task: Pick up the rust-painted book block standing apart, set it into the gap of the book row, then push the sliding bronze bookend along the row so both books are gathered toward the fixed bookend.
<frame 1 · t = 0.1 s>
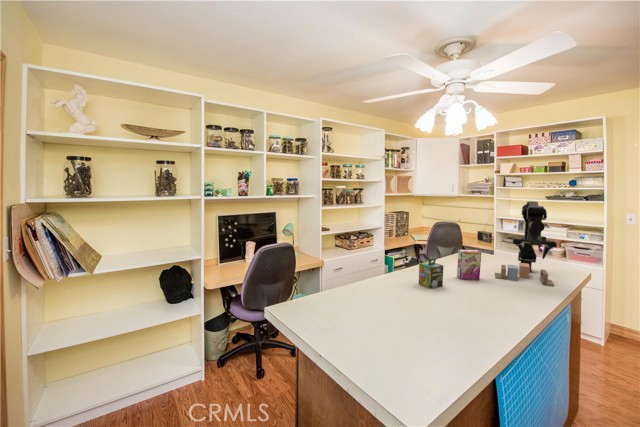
hand: (532, 258, 156), 15 cm above the table, fingers open, 9 cm apart
chalk box: (430, 285, 158), on the table
bookend slide: (547, 277, 159), point 3 cm above the table, slide at 0.0 cm
blue book: (512, 278, 168), on the table
candy bar box: (468, 278, 168), on the table
rust book: (523, 276, 171), on the table
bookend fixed: (503, 276, 170), on the table
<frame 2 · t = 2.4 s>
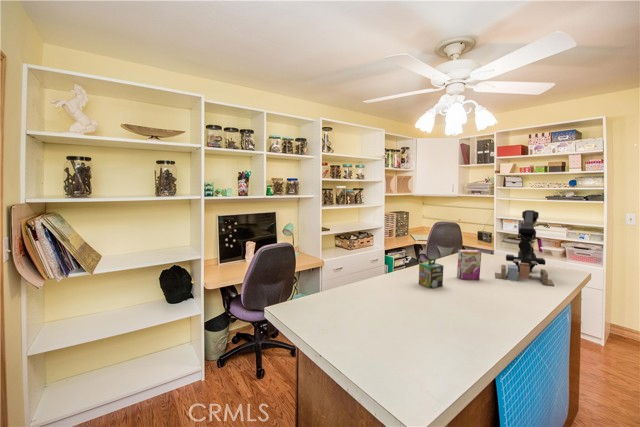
hand: (523, 273, 171), 2 cm above the table, fingers closed on rust book, 4 cm apart
rust book: (523, 276, 171), on the table, touching gripper
everything else where it was.
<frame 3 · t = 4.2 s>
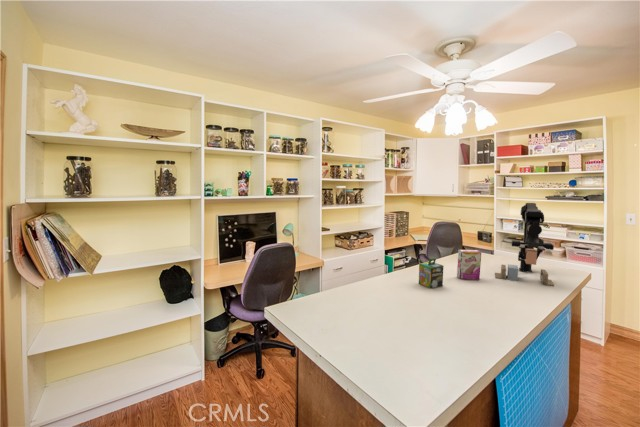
hand: (530, 259, 162), 12 cm above the table, fingers closed on rust book, 4 cm apart
rust book: (530, 262, 163), point 10 cm above the table, touching gripper
everything else where it was.
when the fingers open (3 cm above the table, at t = 6.3 s): rust book drops 1 cm, on the table.
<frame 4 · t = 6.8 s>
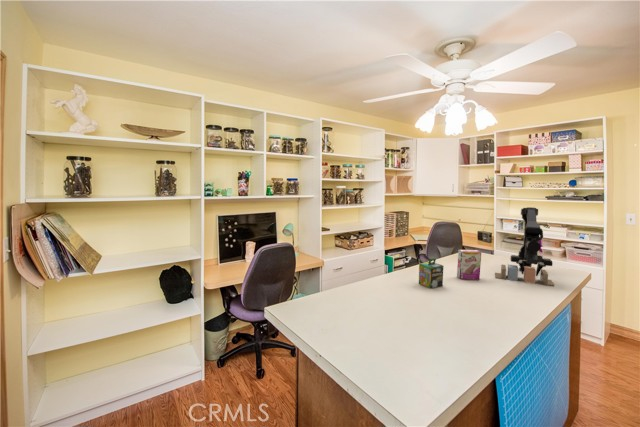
hand: (529, 275, 163), 3 cm above the table, fingers open, 6 cm apart
rust book: (529, 280, 164), on the table
everything else where it was.
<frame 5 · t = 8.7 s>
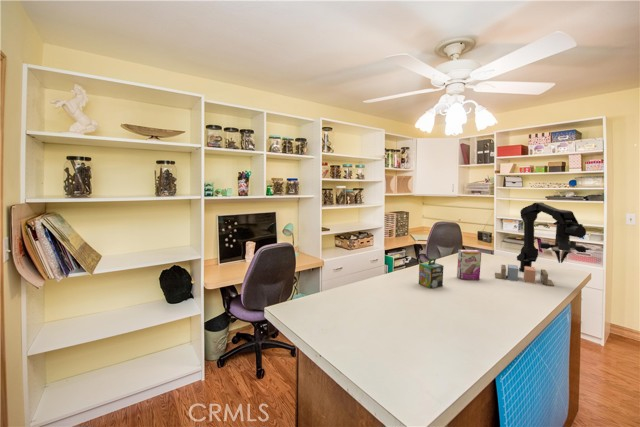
hand: (560, 262, 156), 12 cm above the table, fingers closed
nothing on the table moved.
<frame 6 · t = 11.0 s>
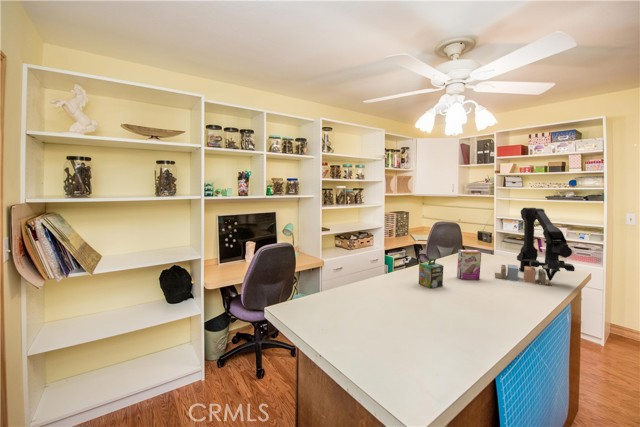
hand: (549, 280, 159), 1 cm above the table, fingers closed
bookend slide: (545, 277, 160), point 3 cm above the table, slide at 0.9 cm, touching gripper
everything else where it was.
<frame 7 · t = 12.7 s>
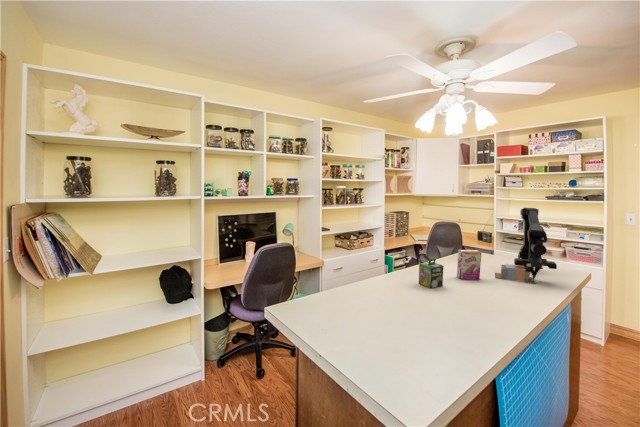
hand: (533, 278, 162), 1 cm above the table, fingers closed
bookend slide: (529, 275, 163), point 3 cm above the table, slide at 8.0 cm, touching gripper, rust book
blue book: (509, 277, 168), on the table, touching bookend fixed, rust book
rust book: (519, 279, 166), on the table, touching blue book, bookend slide
everything else where it was.
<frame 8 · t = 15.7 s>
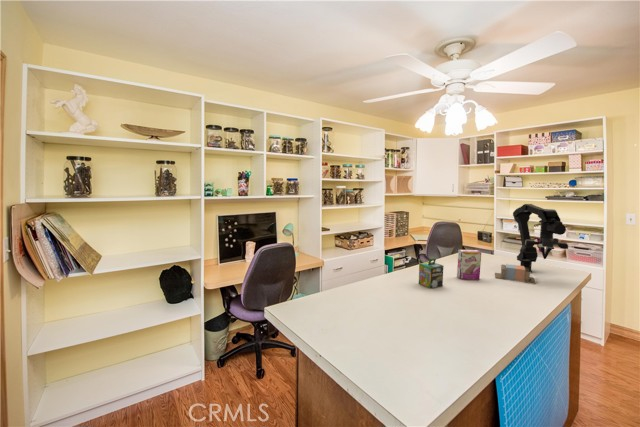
hand: (544, 258, 164), 12 cm above the table, fingers closed
bookend slide: (529, 275, 163), point 3 cm above the table, slide at 7.9 cm
blue book: (509, 277, 168), on the table
rust book: (519, 279, 166), on the table
everything else where it was.
at the end: bookend slide slide at 7.9 cm; rust book inside the target area (0.0 cm from its centre), on the table; rust book tilted 0° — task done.
